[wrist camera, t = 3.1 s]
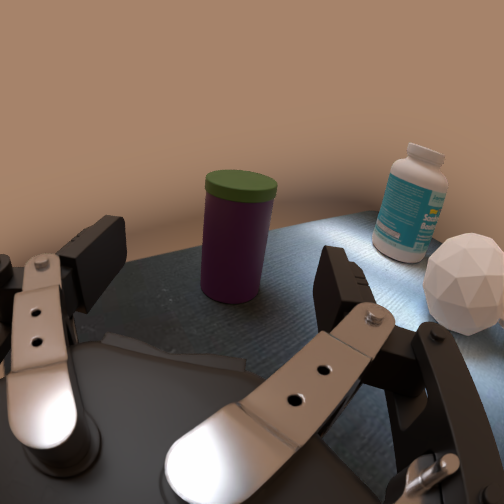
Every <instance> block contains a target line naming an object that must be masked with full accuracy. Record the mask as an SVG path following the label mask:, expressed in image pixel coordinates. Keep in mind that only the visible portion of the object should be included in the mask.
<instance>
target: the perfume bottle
mask: <svg viewBox="0 0 504 504" xmlns="http://www.w3.org/2000/svg"><path fill="white" fill-rule="evenodd" d="M423 289H424V293H425V296H426V300H427V304H428V308H429V313H430V314H431V315H432V316H433V317H434V318H435V320H436V321H437V322H438V323H439V324H440V325H441V326H443V327H445V328H446V329H449V330H452V331H455V332H457V333H460V334H463V335H466V336H470V335H472V334H475V333H477V332H479V331H482V330H484V329H486V328H489V327H491V326H493V325H495V324H496V323H497V321H498V320H499V318H500V320H499V321H498V323H499V324H500V325H501V326H502V328H503V329H504V253H503V251H502V250H501V249H500V248H499V246H498V245H497V244H496V243H495V241H494V240H493V239H492V238H489V237H486V236H482V235H479V234H475V233H465V234H462V235H459V236H455V237H452V238H449V239H447V240H446V241H445V242H444V243H443V244H442V245H441V246H440V247H439V248H438V249H437V250H436V251H435V252H434V253H433V254H432V255H431V256H430V257H429V259H428V264H427V268H426V273H425V277H424V281H423Z"/></svg>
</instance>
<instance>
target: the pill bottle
mask: <svg viewBox="0 0 504 504" xmlns="http://www.w3.org/2000/svg"><path fill="white" fill-rule="evenodd" d="M407 154H408V156H407V158H405V159H399V160H397V161H395V162H394V164H393V165H392V167H391V171H390V175H389V179H388V183H387V187H386V190H385V194H384V198H383V201H382V205H381V209H380V212H379V215H378V218H377V222H376V225H375V228H374V232H373V235H372V242H373V244H374V246H375V247H376V248H377V249H378V250H379V251H380V252H382V253H383V254H385V255H387V256H389V257H391V258H393V259H395V260H398V261H401V262H405V263H417V262H420V261H421V260H422V259H423V258H424V256H425V253H426V251H427V248H428V246H429V243H430V241H431V238H432V235H433V232H434V229H435V226H436V223H437V221H438V218H439V215H440V212H441V209H442V206H443V202H444V199H445V196H446V193H447V189H448V181H447V178H446V177H445V175H444V174H442V173H441V171H440V167H441V166H442V164H443V163H444V158H445V155H444V154H441V153H439V152H436V151H434V150H431V149H428V148H425V147H423V146H420V145H416V144H414V143H410V142H409V144H408V148H407Z"/></svg>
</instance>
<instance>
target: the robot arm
mask: <svg viewBox="0 0 504 504" xmlns="http://www.w3.org/2000/svg"><path fill="white" fill-rule="evenodd" d="M126 257H127V247H126V233H125V221H124V219H123V217H118V216H110V215H105V216H104V217H103V218H101V219H100V220H99V221H98V222H96V223H95V224H94V225H92V226H90V227H88V228H86V229H83V231H81V232H80V233H79V234H77V236H76V237H74V238H73V239H72V240H71V241H69V242H68V243H67V244H66V245H65V246H63V247H62V248H61V249H60V250H59V251H58V252H57V253H56V254H52V253H45V254H39V255H36V256H34V257H33V258H31V259H29V260H28V261H27V262H26V264H25V267H12V264H11V261H10V257H9V256H8V255H5V254H0V364H1V362H2V361H3V359H4V358H5V356H6V355H7V353H8V352H9V350H10V349H11V371H10V372H9V373H8V374H7V376H6V377H3V378H1V379H0V504H381V502H380V501H379V499H378V498H377V497H376V495H375V494H374V493H373V492H372V491H371V490H370V489H369V488H368V487H367V486H366V485H365V484H364V483H363V482H362V481H361V480H360V479H359V478H358V477H357V476H356V475H355V474H354V472H353V471H352V470H351V469H350V468H349V467H348V466H347V465H346V464H345V463H344V462H343V461H342V460H341V459H340V458H339V457H338V456H337V455H336V453H335V452H334V451H333V450H332V449H331V448H330V447H329V446H328V445H327V444H326V443H325V441H324V440H323V439H322V438H323V437H324V436H325V435H326V433H327V432H328V431H329V429H330V428H331V427H332V425H333V424H334V423H335V421H336V420H337V419H338V417H339V416H340V415H341V413H342V412H343V411H344V409H345V408H346V407H347V405H348V404H349V403H350V401H351V400H352V399H353V397H354V396H355V394H356V393H357V392H358V390H359V389H360V387H361V386H362V385H363V383H364V384H367V385H370V386H373V387H377V388H380V389H384V391H385V396H386V401H387V407H388V413H389V418H390V424H391V431H392V437H393V444H394V451H395V459H396V467H397V474H396V475H395V476H394V477H393V478H392V479H391V480H390V481H389V483H388V485H387V488H386V496H385V501H384V503H383V504H504V470H503V466H502V463H501V459H500V455H499V452H498V449H497V445H496V442H495V439H494V436H493V433H492V430H491V427H490V424H489V421H488V418H487V415H486V412H485V410H484V407H483V404H482V402H481V399H480V396H479V394H478V391H477V389H476V386H475V384H474V382H473V379H472V377H471V375H470V372H469V370H468V368H467V365H466V363H465V361H464V359H463V356H462V354H461V352H460V350H459V348H458V346H457V344H456V342H455V340H454V337H453V336H452V334H451V333H450V332H449V331H448V330H447V329H446V328H445V327H443V326H441V325H440V324H437V323H434V322H424V323H422V324H421V325H420V326H419V328H418V329H417V331H416V332H414V331H411V330H407V329H404V328H401V327H398V326H396V325H395V319H394V316H393V315H392V314H391V312H389V311H388V310H387V309H386V308H384V307H382V306H380V305H378V304H376V301H375V299H374V296H373V294H372V291H371V289H370V287H369V286H368V285H369V284H368V282H367V280H366V277H365V275H364V273H363V270H362V269H361V268H360V267H359V266H358V265H357V264H356V263H355V262H350V261H348V258H347V256H346V253H345V251H344V249H343V248H339V247H333V246H326V245H325V246H324V247H323V249H322V253H321V257H320V261H319V264H318V268H317V272H316V276H315V280H314V285H313V299H314V305H315V312H316V319H317V326H318V334H317V335H316V336H315V337H314V338H313V339H312V340H311V341H310V342H309V343H308V344H307V345H306V346H304V347H303V348H302V349H301V350H300V351H299V352H298V353H297V354H296V355H295V356H293V357H292V358H291V359H290V360H289V361H288V362H287V363H286V364H284V365H283V366H282V367H281V368H280V369H279V370H278V371H276V372H275V373H274V374H273V375H272V376H271V377H269V378H268V379H267V380H266V379H264V378H262V377H261V376H259V375H257V374H254V373H252V372H250V371H247V370H245V366H246V359H242V358H235V357H228V356H222V355H215V354H170V353H167V352H164V351H162V350H160V349H158V348H156V347H153V346H151V345H149V344H147V343H145V342H142V341H140V340H138V339H135V338H130V337H126V336H122V335H118V334H114V333H110V332H106V334H105V335H104V337H103V339H102V340H101V341H89V342H82V343H79V340H78V335H77V330H76V325H75V320H74V316H73V313H74V312H75V311H78V312H81V313H85V314H88V312H89V311H90V310H91V308H92V307H93V305H94V304H95V303H96V301H97V300H98V299H99V297H100V296H101V295H102V293H103V292H104V291H105V289H106V288H107V287H108V285H109V284H110V283H111V281H112V280H113V279H114V278H115V276H116V275H117V274H118V272H119V271H120V270H121V269H122V267H123V266H124V264H125V261H126ZM425 388H426V390H427V395H428V398H427V395H426V392H425Z"/></svg>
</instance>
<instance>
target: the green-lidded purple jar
mask: <svg viewBox="0 0 504 504" xmlns="http://www.w3.org/2000/svg"><path fill="white" fill-rule="evenodd" d="M205 189H206V199H205V213H204V227H203V243H202V262H201V283H200V285H201V289H202V291H203V292H204V293H205V294H206V295H207V296H208V297H210V298H211V299H213V300H216V301H219V302H222V303H229V304H238V303H243V302H247V301H249V300H251V299H253V298H254V297H255V296H256V295H257V293H258V290H259V285H260V279H261V273H262V267H263V261H264V255H265V250H266V244H267V238H268V232H269V226H270V219H271V213H272V207H273V201H274V198H275V196H276V192H277V182H276V181H275V180H273V179H272V178H270V177H268V176H265V175H262V174H258V173H254V172H250V171H242V170H218V171H213V172H210V173H208V174H207V175H206V181H205Z"/></svg>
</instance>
